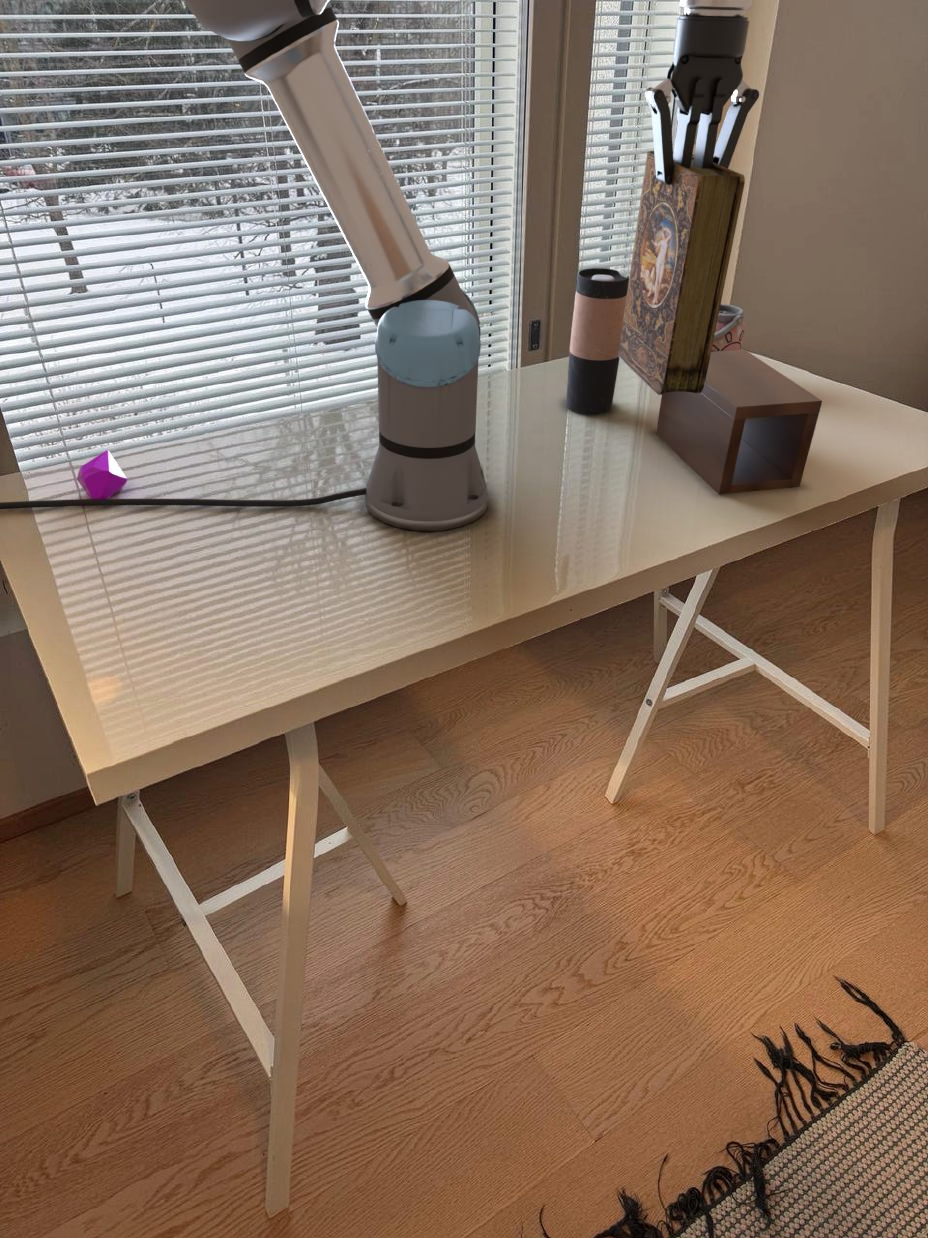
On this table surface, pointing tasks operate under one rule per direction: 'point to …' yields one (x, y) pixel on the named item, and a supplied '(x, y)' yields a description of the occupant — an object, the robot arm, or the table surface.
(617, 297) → the travel mug
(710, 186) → the book
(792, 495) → the table surface
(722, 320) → the patterned ceramic cup
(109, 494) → the crystal
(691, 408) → the shelf
